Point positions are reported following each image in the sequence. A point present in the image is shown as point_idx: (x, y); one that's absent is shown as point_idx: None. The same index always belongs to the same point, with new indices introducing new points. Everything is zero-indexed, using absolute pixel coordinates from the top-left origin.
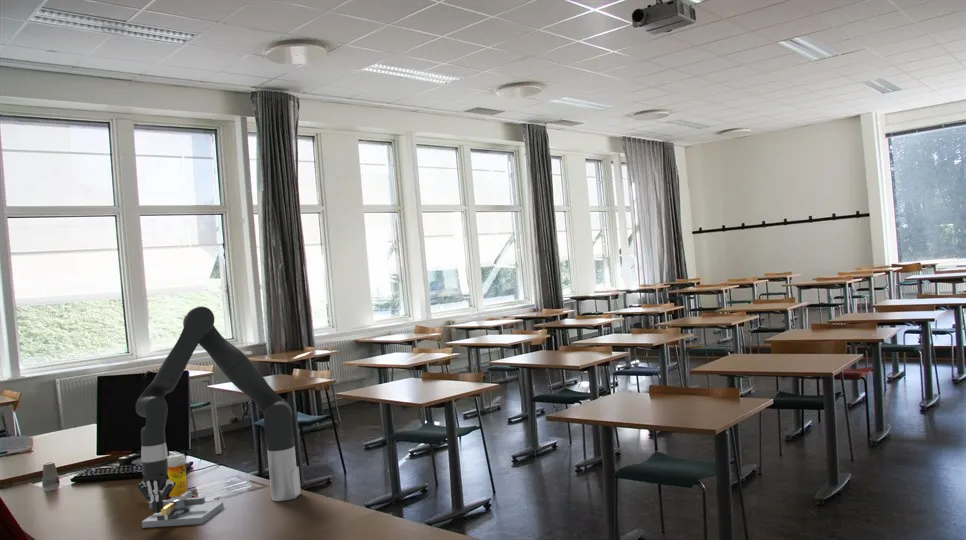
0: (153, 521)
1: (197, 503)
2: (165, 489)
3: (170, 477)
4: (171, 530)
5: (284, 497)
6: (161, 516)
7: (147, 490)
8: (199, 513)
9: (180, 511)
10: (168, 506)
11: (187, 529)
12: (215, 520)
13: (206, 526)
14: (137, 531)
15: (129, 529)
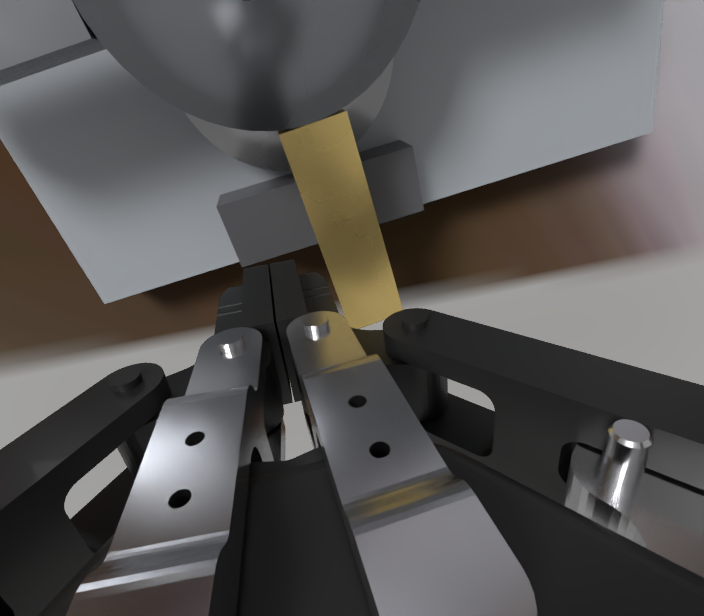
0: (216, 267)
1: None
2: (558, 502)
3: None
4: (437, 279)
5: None
6: (286, 248)
7: (66, 537)
8: (575, 17)
9: (389, 79)
10: (374, 245)
11: (549, 244)
12: (693, 31)
13: (666, 172)
14: (162, 341)
15: (29, 325)
